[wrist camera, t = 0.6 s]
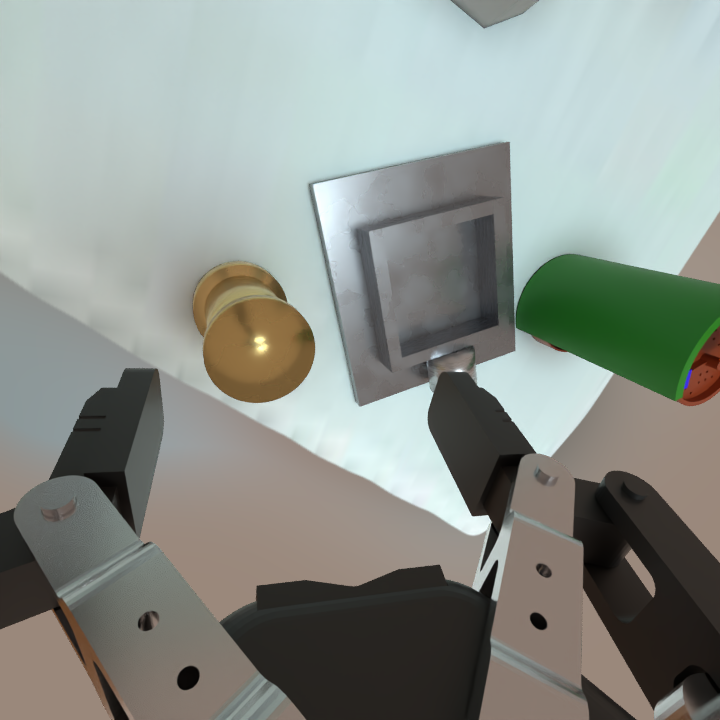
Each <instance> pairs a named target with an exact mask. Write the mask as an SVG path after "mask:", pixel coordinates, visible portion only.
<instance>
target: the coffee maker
mask: <svg viewBox="0 0 720 720" xmlns="http://www.w3.org/2000/svg"><path fill="white" fill-rule="evenodd" d="M451 1H452V2H453V3H455V4H456V5H457V6H458V7H459V8H461V9H462V10H463V11H464V12H465V13H467V14H468V15H469V16H470V17H471V18H473V19H474V20H475V21H476V22H477V23H479V24H480V25H481V26H482V27H483V28H486V27H489V26H492V25H494V24H497V23H499V22H502V21H505V20H507V19H510V18H512V17H515V16H518V15H520V14H523V13H524V12H525V11H526V10H528V9H529V8H530V7H531V6H533V5H534V4H535V3H536V2H538V1H539V0H451Z"/></svg>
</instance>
